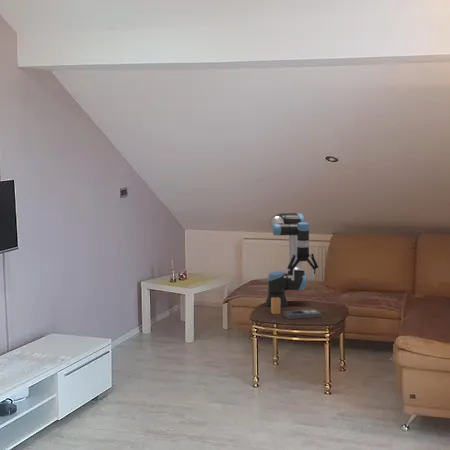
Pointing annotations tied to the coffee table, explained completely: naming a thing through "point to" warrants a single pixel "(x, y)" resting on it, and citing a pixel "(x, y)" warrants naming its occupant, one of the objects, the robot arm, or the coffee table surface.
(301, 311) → the power strip
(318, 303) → the coffee table surface
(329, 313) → the coffee table surface
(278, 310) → the charger
